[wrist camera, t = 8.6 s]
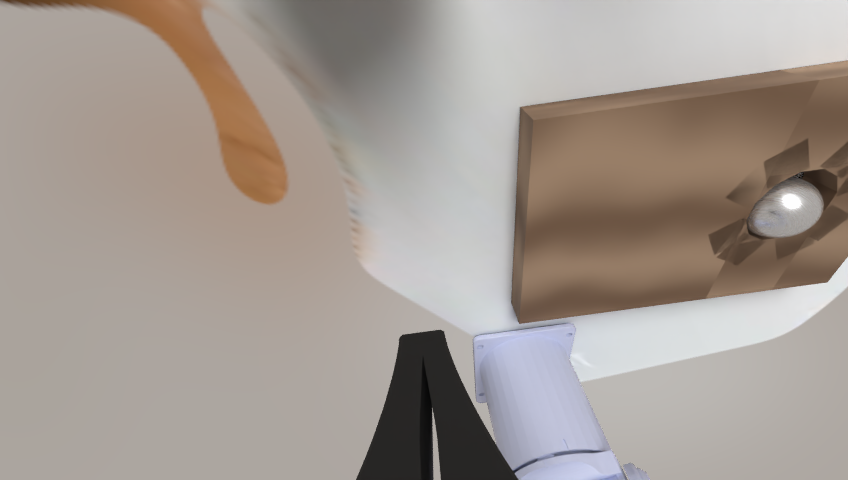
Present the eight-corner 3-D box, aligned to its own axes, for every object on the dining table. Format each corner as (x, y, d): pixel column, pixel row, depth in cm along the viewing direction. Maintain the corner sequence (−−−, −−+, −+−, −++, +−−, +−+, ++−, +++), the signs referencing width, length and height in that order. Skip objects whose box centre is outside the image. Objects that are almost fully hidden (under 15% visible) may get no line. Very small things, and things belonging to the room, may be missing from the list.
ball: (835, 215, 20) (813, 254, 19) (754, 212, 23) (731, 246, 22) (831, 161, 19) (807, 199, 17) (745, 166, 22) (720, 199, 20)
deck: (800, 263, 26) (827, 282, 24) (511, 302, 26) (519, 323, 24) (950, 46, 17) (1008, 52, 16) (520, 107, 17) (533, 120, 16)
